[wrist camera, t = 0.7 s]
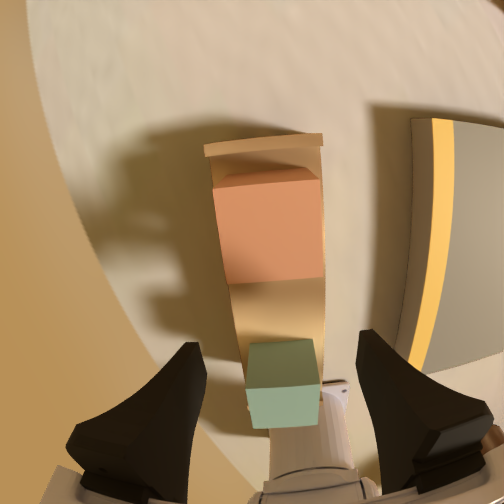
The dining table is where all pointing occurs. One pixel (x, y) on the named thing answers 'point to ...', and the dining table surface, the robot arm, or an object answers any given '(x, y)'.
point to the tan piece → (284, 291)
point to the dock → (454, 246)
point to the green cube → (283, 384)
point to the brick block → (270, 225)
